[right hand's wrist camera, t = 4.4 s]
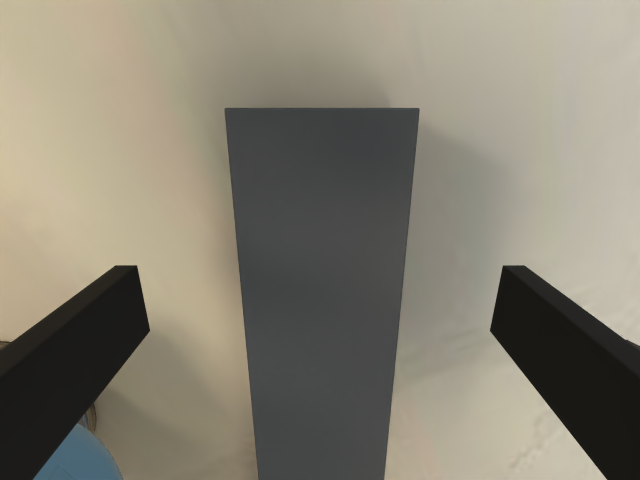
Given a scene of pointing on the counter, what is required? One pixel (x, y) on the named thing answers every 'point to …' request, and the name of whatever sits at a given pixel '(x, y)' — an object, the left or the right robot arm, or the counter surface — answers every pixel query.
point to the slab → (321, 280)
